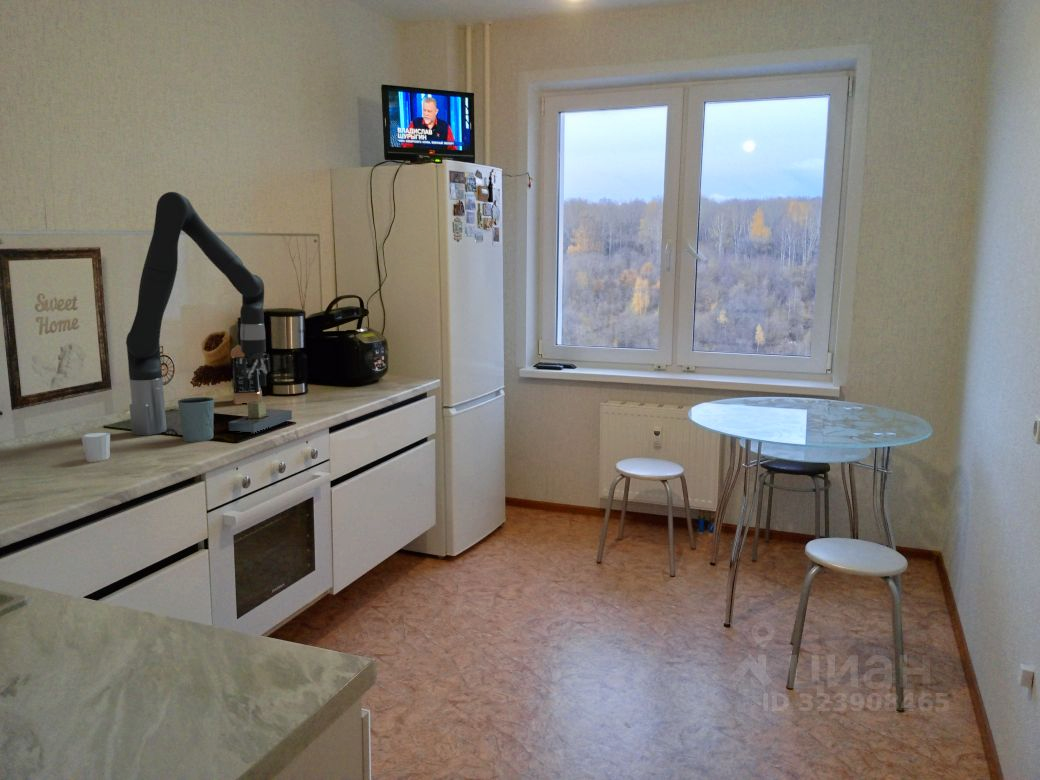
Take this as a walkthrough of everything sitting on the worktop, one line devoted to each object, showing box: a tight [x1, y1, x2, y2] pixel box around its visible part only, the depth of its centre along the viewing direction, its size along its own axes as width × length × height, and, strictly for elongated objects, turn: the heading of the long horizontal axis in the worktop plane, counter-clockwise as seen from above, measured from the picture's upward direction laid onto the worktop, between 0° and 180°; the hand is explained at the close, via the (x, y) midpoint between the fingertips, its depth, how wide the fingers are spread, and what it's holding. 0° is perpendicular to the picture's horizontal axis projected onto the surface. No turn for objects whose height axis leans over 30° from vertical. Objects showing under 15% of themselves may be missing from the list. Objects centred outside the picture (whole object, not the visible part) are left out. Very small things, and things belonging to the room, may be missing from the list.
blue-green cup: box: [177, 396, 215, 443], centre depth 236 cm, size 10×10×12 cm
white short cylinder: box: [81, 431, 111, 463], centre depth 213 cm, size 7×7×7 cm
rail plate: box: [228, 408, 293, 434], centre depth 255 cm, size 22×9×3 cm, turn 165°
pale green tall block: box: [246, 400, 267, 420], centre depth 252 cm, size 4×4×8 cm
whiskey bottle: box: [230, 317, 263, 405], centre depth 292 cm, size 10×10×32 cm
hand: (255, 387), depth 250 cm, fingers open, 8 cm apart
